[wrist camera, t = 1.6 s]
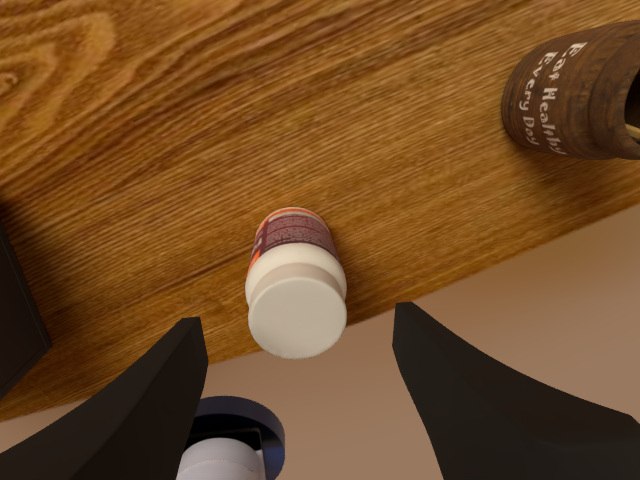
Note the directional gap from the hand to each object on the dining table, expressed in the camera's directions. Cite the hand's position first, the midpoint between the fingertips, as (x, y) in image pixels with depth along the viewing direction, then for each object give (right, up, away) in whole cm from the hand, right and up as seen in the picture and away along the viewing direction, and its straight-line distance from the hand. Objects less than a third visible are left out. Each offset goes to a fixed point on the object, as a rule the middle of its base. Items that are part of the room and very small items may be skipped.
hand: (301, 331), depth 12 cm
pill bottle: (-1, +3, +9) cm, 10 cm away
